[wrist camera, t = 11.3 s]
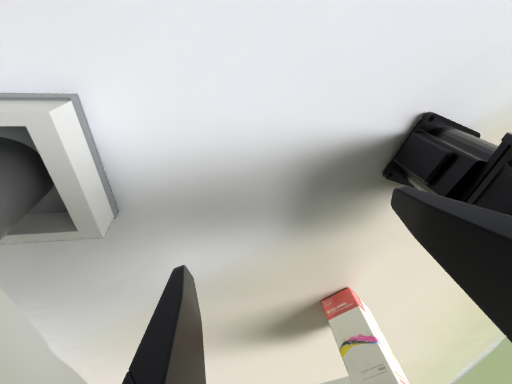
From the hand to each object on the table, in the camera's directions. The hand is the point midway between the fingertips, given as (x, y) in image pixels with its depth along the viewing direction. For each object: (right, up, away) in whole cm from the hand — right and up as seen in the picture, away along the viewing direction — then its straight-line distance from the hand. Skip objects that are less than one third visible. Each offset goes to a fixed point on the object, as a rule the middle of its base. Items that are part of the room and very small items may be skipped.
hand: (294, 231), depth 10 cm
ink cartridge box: (+12, -15, +27) cm, 33 cm away
